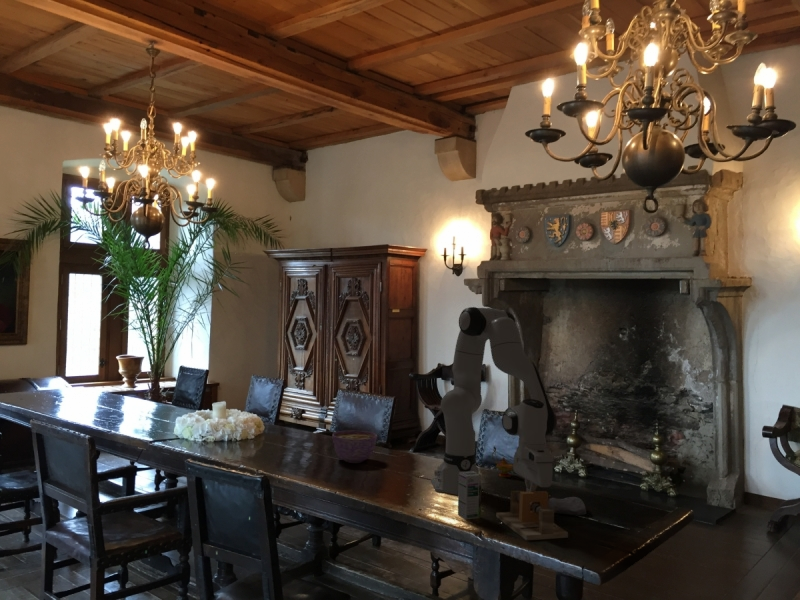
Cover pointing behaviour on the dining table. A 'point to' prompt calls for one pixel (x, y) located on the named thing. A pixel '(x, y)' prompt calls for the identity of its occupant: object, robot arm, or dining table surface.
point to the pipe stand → (531, 529)
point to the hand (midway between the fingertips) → (530, 493)
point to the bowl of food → (354, 445)
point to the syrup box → (469, 495)
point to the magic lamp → (503, 466)
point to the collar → (524, 505)
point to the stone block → (567, 506)
